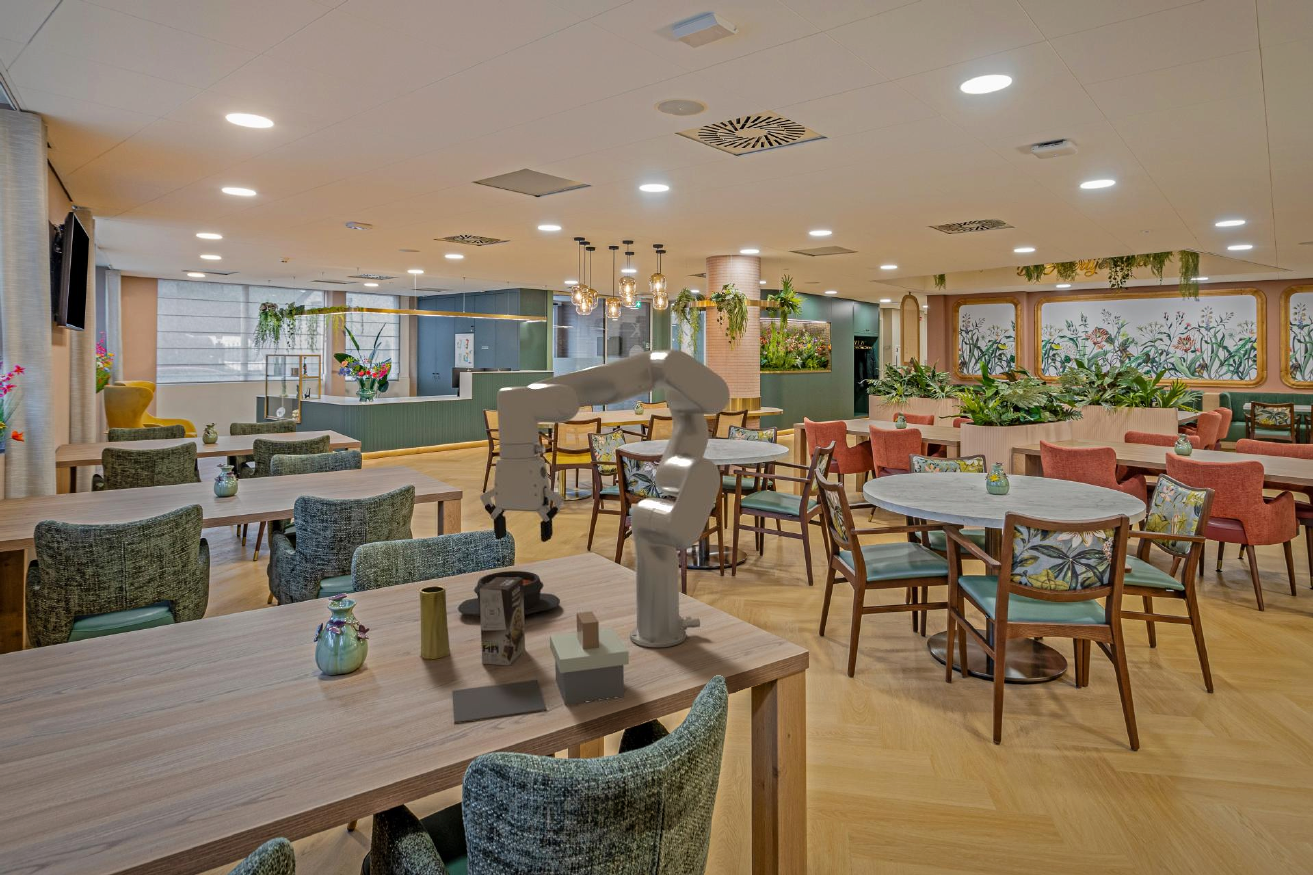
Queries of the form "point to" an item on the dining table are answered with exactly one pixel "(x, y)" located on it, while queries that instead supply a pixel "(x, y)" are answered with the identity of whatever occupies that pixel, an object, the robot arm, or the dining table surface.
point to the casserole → (531, 594)
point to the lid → (588, 646)
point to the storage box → (590, 684)
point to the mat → (497, 701)
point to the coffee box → (502, 620)
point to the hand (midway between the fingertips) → (523, 539)
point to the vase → (434, 623)
